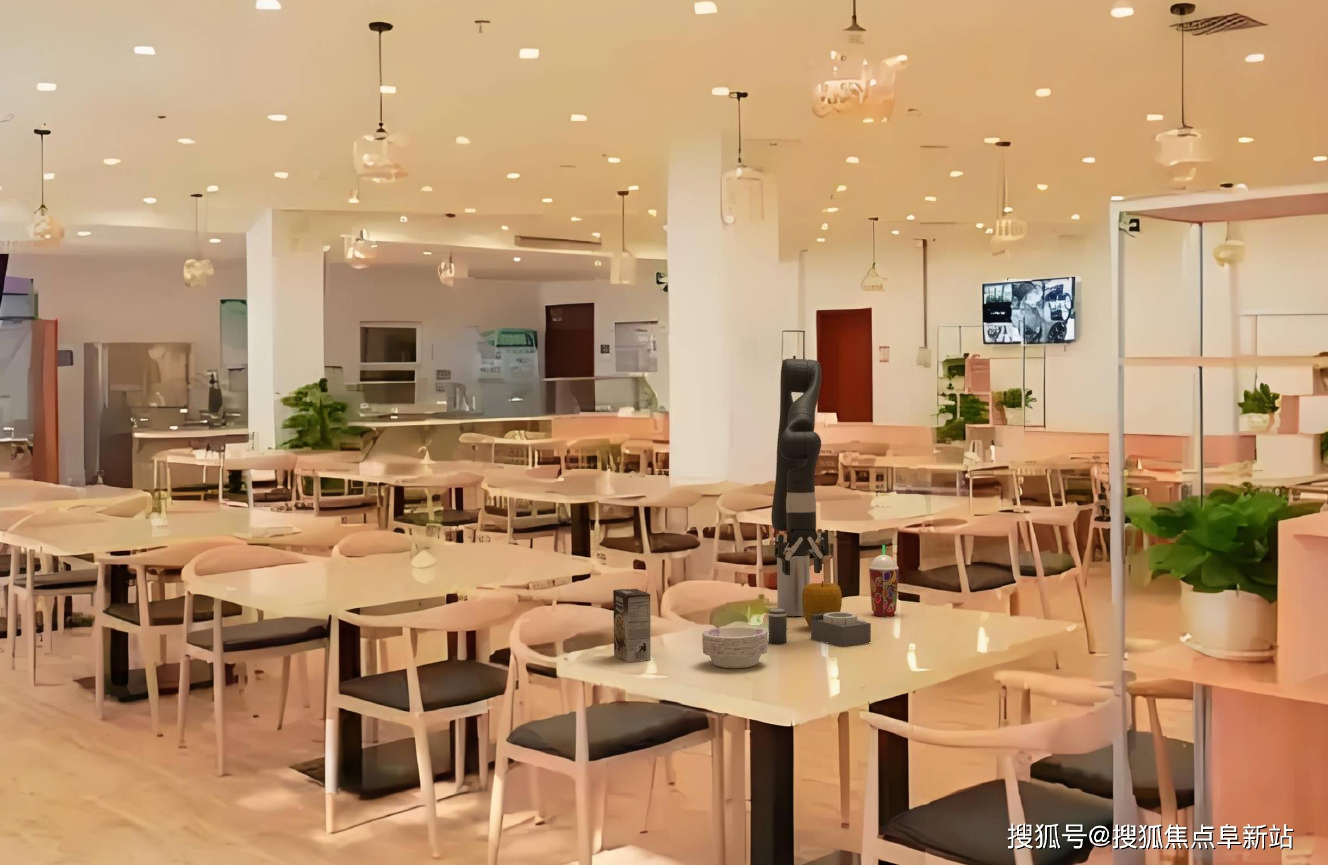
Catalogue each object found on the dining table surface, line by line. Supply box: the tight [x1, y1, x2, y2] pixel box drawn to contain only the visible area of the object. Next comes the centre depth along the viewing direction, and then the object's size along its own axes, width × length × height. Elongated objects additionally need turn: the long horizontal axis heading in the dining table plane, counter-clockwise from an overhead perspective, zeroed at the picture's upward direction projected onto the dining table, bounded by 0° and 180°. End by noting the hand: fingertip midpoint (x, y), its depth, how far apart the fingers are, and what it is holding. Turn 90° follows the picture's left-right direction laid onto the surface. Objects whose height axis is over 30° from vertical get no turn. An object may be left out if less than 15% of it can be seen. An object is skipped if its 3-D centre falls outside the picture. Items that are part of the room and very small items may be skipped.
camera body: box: [810, 611, 872, 648], centre depth 324 cm, size 13×9×7 cm
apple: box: [802, 580, 843, 629], centre depth 341 cm, size 11×11×13 cm
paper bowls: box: [702, 626, 768, 669], centre depth 296 cm, size 15×15×8 cm
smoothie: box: [868, 544, 900, 617], centre depth 361 cm, size 8×8×20 cm
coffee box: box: [612, 588, 652, 663], centre depth 305 cm, size 9×6×16 cm
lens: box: [767, 608, 788, 645], centre depth 322 cm, size 5×5×8 cm
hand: (802, 574), depth 322 cm, fingers open, 8 cm apart
